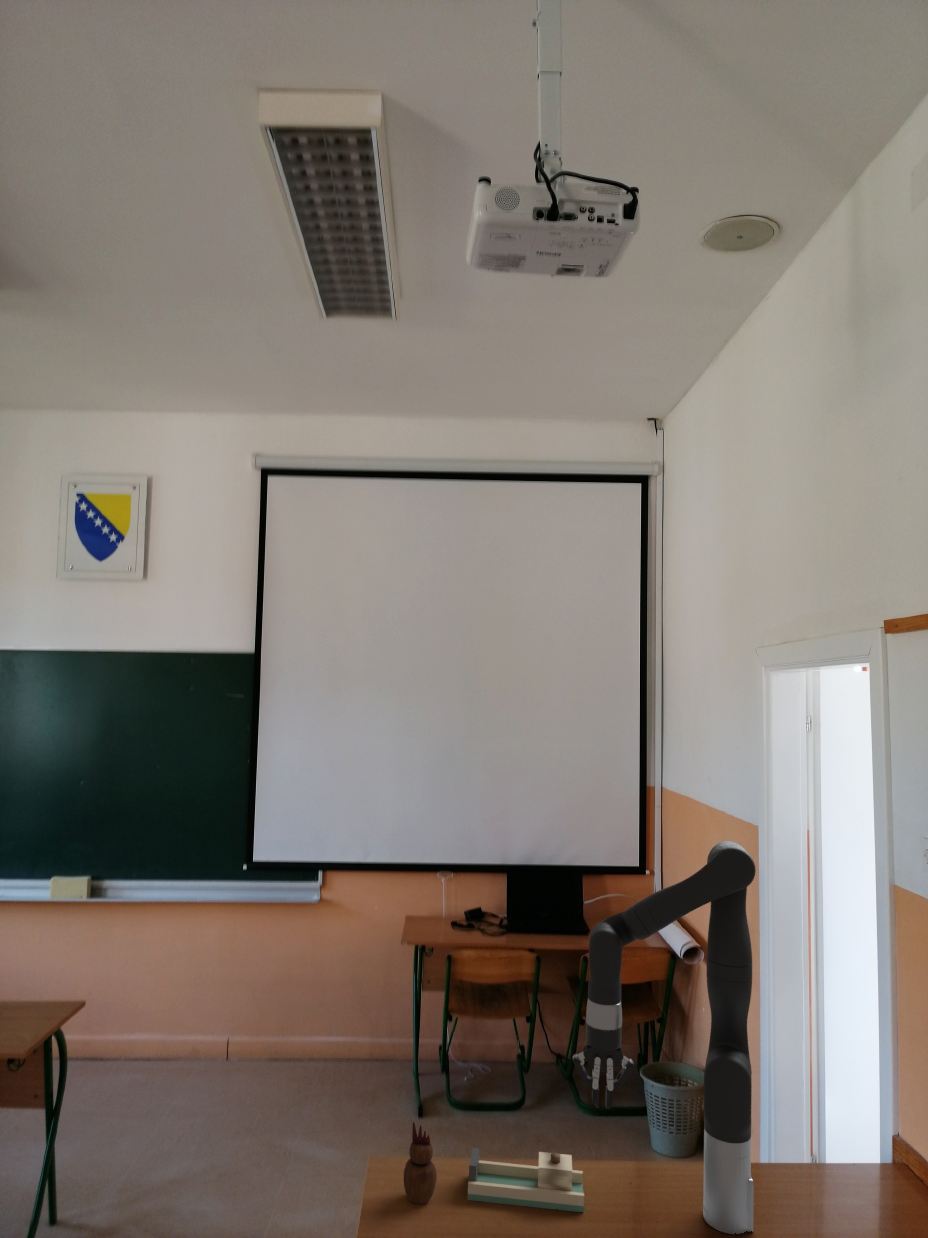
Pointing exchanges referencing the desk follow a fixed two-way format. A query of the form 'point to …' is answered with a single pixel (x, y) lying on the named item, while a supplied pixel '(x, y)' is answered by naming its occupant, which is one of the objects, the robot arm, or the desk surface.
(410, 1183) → the wooden figurine
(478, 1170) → the rail
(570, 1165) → the cream knobbed cube
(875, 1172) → the desk surface
